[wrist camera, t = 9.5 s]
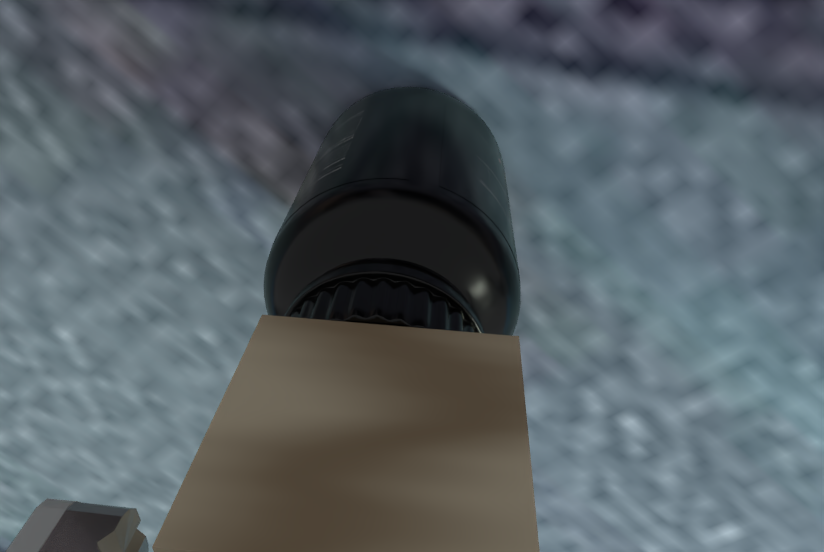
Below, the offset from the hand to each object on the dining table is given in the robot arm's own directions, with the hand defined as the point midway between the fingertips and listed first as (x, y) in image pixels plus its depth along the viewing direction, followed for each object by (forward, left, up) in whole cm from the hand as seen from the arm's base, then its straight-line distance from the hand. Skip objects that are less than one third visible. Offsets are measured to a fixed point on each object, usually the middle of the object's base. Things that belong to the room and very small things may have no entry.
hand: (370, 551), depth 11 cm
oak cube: (0, 0, -3) cm, 3 cm away
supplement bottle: (+1, 0, -15) cm, 15 cm away
